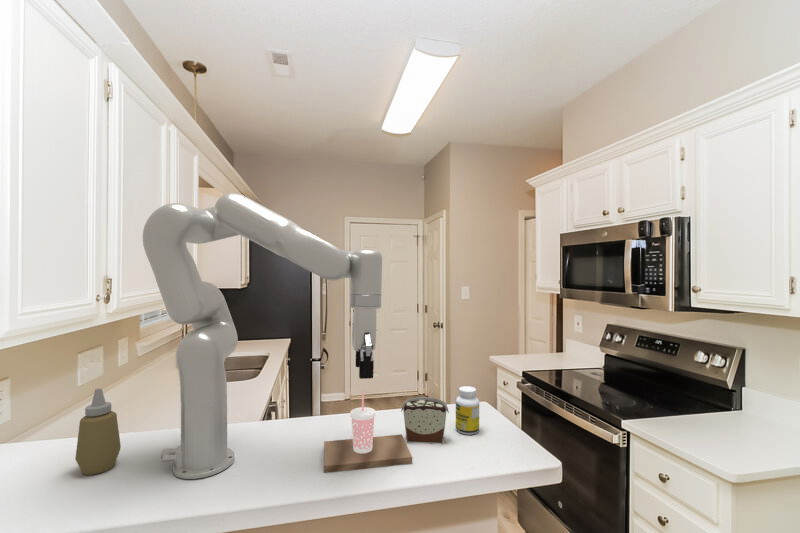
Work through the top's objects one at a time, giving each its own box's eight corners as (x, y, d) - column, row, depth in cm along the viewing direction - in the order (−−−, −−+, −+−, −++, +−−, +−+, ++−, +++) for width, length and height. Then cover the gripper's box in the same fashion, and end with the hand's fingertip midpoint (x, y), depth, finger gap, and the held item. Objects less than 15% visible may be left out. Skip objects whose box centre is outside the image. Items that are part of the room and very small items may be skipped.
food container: (448, 433, 104) (448, 397, 104) (448, 444, 98) (448, 405, 98) (403, 431, 105) (403, 395, 105) (401, 442, 99) (400, 403, 99)
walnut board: (324, 472, 84) (324, 466, 84) (324, 447, 96) (324, 441, 96) (412, 463, 88) (412, 457, 88) (401, 440, 100) (401, 434, 100)
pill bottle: (451, 427, 108) (451, 386, 108) (472, 424, 110) (472, 384, 110) (462, 437, 102) (462, 393, 102) (483, 433, 104) (483, 391, 104)
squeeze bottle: (84, 463, 89) (84, 386, 89) (125, 457, 92) (125, 382, 91) (68, 481, 81) (68, 397, 81) (114, 474, 84) (113, 392, 84)
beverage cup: (349, 444, 95) (348, 388, 94) (373, 441, 96) (373, 386, 96) (351, 456, 89) (351, 396, 88) (377, 453, 90) (377, 394, 90)
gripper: (347, 298, 100) (346, 363, 100) (352, 305, 83) (350, 383, 83) (376, 298, 101) (374, 362, 101) (386, 305, 84) (384, 382, 84)
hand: (363, 372), depth 92 cm, fingers open, 9 cm apart
